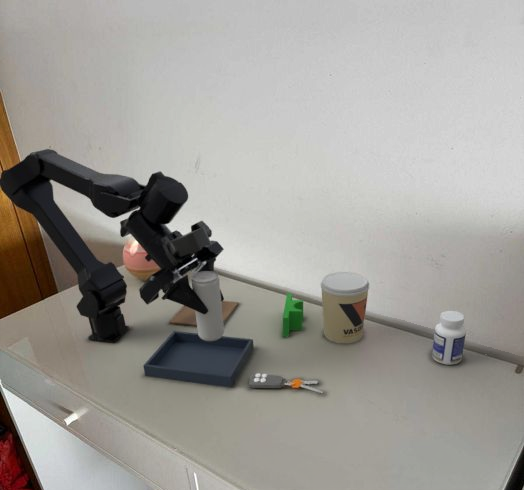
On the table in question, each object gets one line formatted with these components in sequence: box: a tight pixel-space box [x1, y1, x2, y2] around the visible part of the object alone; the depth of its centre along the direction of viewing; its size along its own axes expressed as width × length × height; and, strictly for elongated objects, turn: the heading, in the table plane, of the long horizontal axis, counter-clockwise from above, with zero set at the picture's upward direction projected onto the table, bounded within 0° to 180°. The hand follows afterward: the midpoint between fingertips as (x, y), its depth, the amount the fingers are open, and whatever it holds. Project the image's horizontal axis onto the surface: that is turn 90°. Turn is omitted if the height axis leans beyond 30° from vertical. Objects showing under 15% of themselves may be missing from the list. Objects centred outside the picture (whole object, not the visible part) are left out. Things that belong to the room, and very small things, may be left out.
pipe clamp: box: [282, 293, 304, 338], centre depth 106 cm, size 11×4×5 cm, turn 173°
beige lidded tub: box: [320, 271, 370, 344], centre depth 99 cm, size 9×9×12 cm
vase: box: [122, 235, 161, 283], centre depth 129 cm, size 14×14×18 cm
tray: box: [142, 330, 255, 388], centre depth 95 cm, size 17×13×2 cm
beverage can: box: [191, 271, 225, 341], centre depth 89 cm, size 5×5×12 cm
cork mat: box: [169, 300, 239, 327], centre depth 113 cm, size 12×12×1 cm
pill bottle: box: [431, 310, 467, 366], centre depth 91 cm, size 5×5×9 cm
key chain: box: [248, 372, 323, 394], centre depth 87 cm, size 13×4×2 cm, turn 80°
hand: (214, 306), depth 88 cm, fingers closed on beverage can, 5 cm apart
